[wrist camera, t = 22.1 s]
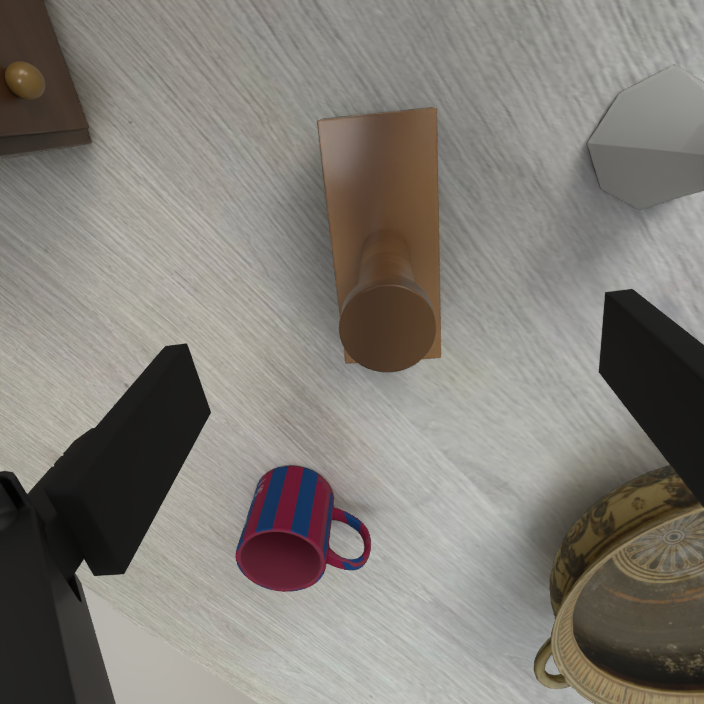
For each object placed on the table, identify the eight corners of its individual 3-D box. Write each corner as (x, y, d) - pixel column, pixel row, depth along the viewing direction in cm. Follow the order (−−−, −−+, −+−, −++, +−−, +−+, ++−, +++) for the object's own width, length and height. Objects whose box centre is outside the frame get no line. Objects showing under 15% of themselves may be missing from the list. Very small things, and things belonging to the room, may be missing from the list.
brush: (428, 106, 28) (472, 112, 15) (434, 328, 35) (468, 474, 21) (325, 117, 29) (276, 132, 15) (349, 333, 35) (329, 480, 22)
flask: (745, 139, 28) (913, 157, 19) (632, 230, 31) (734, 283, 22) (678, 36, 26) (830, 4, 17) (562, 143, 29) (644, 162, 20)
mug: (265, 456, 41) (244, 518, 34) (380, 486, 41) (380, 553, 35) (249, 513, 44) (228, 580, 37) (357, 540, 44) (354, 610, 38)
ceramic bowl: (584, 654, 50) (628, 774, 41) (431, 524, 43) (445, 635, 34) (914, 509, 40) (1069, 628, 31) (784, 305, 32) (937, 383, 24)
